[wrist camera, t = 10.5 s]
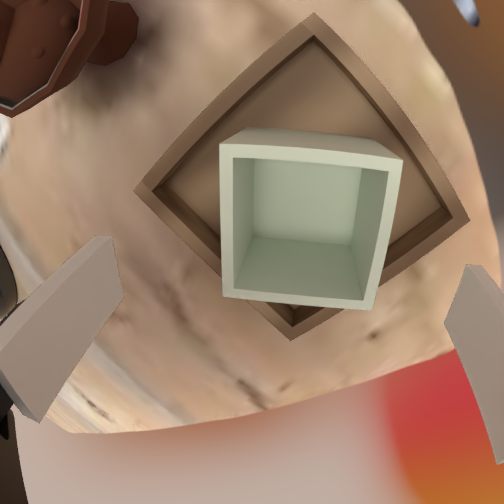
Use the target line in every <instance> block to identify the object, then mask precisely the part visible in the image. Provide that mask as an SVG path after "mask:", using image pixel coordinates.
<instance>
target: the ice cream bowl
mask: <svg viewBox="0 0 504 504" xmlns="http://www.w3.org/2000/svg"><path fill="white" fill-rule="evenodd" d="M138 19H139V18H138V16H137V15H136V13H135V12H134V10H133V9H132V7H131V6H130V4H128V3H122V2H115V1H109V0H0V113H1V114H4V115H6V116H8V117H11V118H13V117H15V116H16V115H18V114H20V113H22V112H24V111H26V110H28V109H30V108H31V107H33V106H35V105H36V104H38V103H39V102H41V101H42V100H44V99H45V98H47V97H49V96H50V95H52V94H54V93H55V92H57V91H59V90H60V89H62V88H64V87H66V86H67V85H68V84H70V83H71V82H72V81H73V80H74V79H76V78H77V76H78V74H79V73H80V71H81V69H82V68H83V66H84V64H85V63H86V61H88V62H92V63H95V64H99V65H103V66H105V65H107V64H110V63H112V62H114V61H116V60H118V59H120V58H123V56H124V55H125V54H126V52H127V51H128V49H129V48H130V47H131V45H132V44H133V42H134V41H135V40H136V35H137V27H138Z"/></svg>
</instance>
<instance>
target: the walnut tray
mask: <svg viewBox="0 0 504 504" xmlns="http://www.w3.org/2000/svg"><path fill="white" fill-rule="evenodd" d="M245 128H270V129H288V130H302V131H314V132H324V133H334V134H343V135H351V136H359V137H367V138H372V139H374V140H375V141H377V142H378V143H380V144H381V145H383V146H384V147H386V148H387V149H388V150H390V151H391V152H393V153H394V154H396V155H397V156H398V157H400V158H401V159H402V160H403V166H402V173H401V179H400V185H399V192H398V197H397V203H396V209H395V214H394V219H393V224H392V229H391V234H390V239H389V243H388V248H387V252H386V256H385V261H384V265H383V269H382V273H381V277H380V281H379V285H378V287H379V286H381V285H382V284H384V283H385V282H387V281H388V280H390V279H391V278H393V277H394V276H396V275H397V274H399V273H400V272H402V271H403V270H404V269H406V268H407V267H409V266H410V265H412V264H413V263H414V262H416V261H417V260H419V259H420V258H421V257H423V256H424V255H425V254H427V253H428V252H430V251H431V250H432V249H434V248H435V247H436V246H438V245H439V244H440V243H442V242H443V241H444V240H446V239H447V238H448V237H450V236H451V235H452V234H454V233H455V232H456V231H458V230H459V229H460V228H461V227H463V226H464V225H465V224H466V223H468V222H469V221H470V219H469V217H468V215H467V213H466V211H465V209H464V207H463V205H462V204H461V202H460V200H459V198H458V196H457V194H456V193H455V191H454V189H453V187H452V185H451V184H450V182H449V180H448V178H447V177H446V175H445V173H444V172H443V170H442V168H441V167H440V165H439V163H438V162H437V160H436V159H435V157H434V155H433V154H432V152H431V151H430V149H429V148H428V146H427V145H426V143H425V142H424V140H423V139H422V137H421V136H420V134H419V133H418V131H417V130H416V128H415V127H414V126H413V124H412V123H411V121H410V120H409V119H408V117H407V116H406V115H405V113H404V112H403V111H402V109H401V108H400V107H399V105H398V104H397V103H396V101H395V100H394V99H393V97H392V96H391V95H390V94H389V92H388V91H387V90H386V89H385V87H384V86H383V85H382V84H381V82H380V81H379V80H378V79H377V78H376V77H375V75H374V74H373V73H372V72H371V71H370V69H369V68H368V67H367V66H366V65H365V64H364V63H363V62H362V60H361V59H360V58H359V57H358V56H357V55H356V54H355V53H354V52H353V51H352V50H351V48H350V47H349V46H348V45H347V44H346V43H345V42H344V41H343V40H342V39H341V38H340V37H339V36H338V35H337V34H336V33H335V32H334V31H333V30H332V29H331V28H330V27H329V26H328V25H327V24H326V23H325V22H324V21H323V20H322V19H321V18H319V17H318V16H317V15H316V14H315V13H313V14H311V15H310V16H309V17H307V18H306V19H305V20H304V21H302V22H301V23H300V24H298V25H297V26H296V27H295V28H293V29H292V30H291V31H290V32H289V33H287V34H286V35H285V36H284V37H282V38H281V39H280V40H279V41H278V42H276V43H275V44H274V45H273V46H272V47H271V48H269V49H268V50H267V51H266V52H265V53H264V54H263V55H261V56H260V57H259V58H258V59H257V60H256V61H255V62H254V63H252V64H251V65H250V66H249V67H248V68H247V69H246V70H245V71H244V72H243V73H242V74H240V75H239V76H238V77H237V78H236V79H235V80H234V81H233V82H232V83H231V84H230V85H229V86H228V87H227V88H226V89H225V90H224V91H223V92H222V93H221V94H220V95H219V96H218V97H217V98H216V99H215V100H214V101H213V102H212V103H211V104H210V105H209V106H208V107H207V108H206V109H205V110H204V111H203V112H202V113H201V114H200V115H199V116H198V117H197V118H196V119H195V120H194V121H193V122H192V123H191V124H190V126H189V127H188V128H187V129H186V130H185V131H184V132H183V133H182V134H181V135H180V136H179V137H178V139H177V140H176V141H175V142H174V143H173V144H172V145H171V146H170V148H169V149H168V150H167V151H166V152H165V153H164V154H163V156H162V157H161V158H160V159H159V160H158V161H157V163H156V164H155V165H154V166H153V167H152V168H151V170H150V171H149V172H148V173H147V174H146V176H145V177H144V178H143V179H142V181H141V182H140V183H139V184H138V186H137V187H136V188H135V189H134V192H135V193H136V194H137V195H138V196H139V198H140V199H141V200H142V201H143V202H144V203H145V204H146V205H147V206H148V207H149V208H150V209H151V210H152V211H153V212H154V213H155V214H156V215H157V216H158V217H159V218H160V219H162V220H163V221H164V222H165V223H166V224H167V225H168V226H169V227H170V228H171V229H172V230H173V231H174V232H175V233H176V234H177V235H178V236H179V237H180V238H181V239H182V240H183V241H184V242H185V243H186V244H187V245H188V246H189V247H190V248H191V249H192V250H193V251H194V252H195V253H196V254H197V255H198V256H199V257H200V258H202V259H203V260H204V261H205V262H206V263H207V264H208V265H209V266H210V267H211V268H212V269H213V270H214V271H215V272H216V273H217V274H218V275H219V276H220V277H222V262H221V226H220V168H219V144H220V143H221V142H223V141H225V140H226V139H228V138H230V137H232V136H233V135H235V134H237V133H238V132H240V131H242V130H244V129H245ZM245 300H246V301H247V302H248V303H249V304H250V305H252V306H253V307H254V308H255V309H256V310H257V311H258V312H259V313H260V314H261V315H262V316H264V317H265V318H266V319H267V320H268V321H269V322H270V323H271V324H272V325H273V326H275V327H276V328H277V329H278V330H279V331H280V332H281V333H282V334H283V335H284V336H286V337H287V338H288V339H289V340H290V341H291V340H293V339H295V338H297V337H298V336H300V335H302V334H304V333H305V332H307V331H309V330H310V329H312V328H314V327H315V326H317V325H319V324H321V323H322V322H324V321H326V320H327V319H329V318H331V317H332V316H334V315H335V314H337V313H339V312H340V311H342V310H344V309H343V308H330V307H319V306H307V305H297V304H286V303H276V302H266V301H257V300H248V299H245Z"/></svg>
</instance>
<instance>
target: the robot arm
mask: <svg viewBox="0 0 504 504" xmlns="http://www.w3.org/2000/svg"><path fill="white" fill-rule="evenodd" d="M123 298H124V293H123V289H122V284H121V280H120V275H119V271H118V266H117V261H116V256H115V251H114V246H113V241H112V236H99V235H95V236H94V237H93V238H92V239H91V240H89V241H88V242H87V243H86V244H85V245H84V246H83V247H81V248H80V249H79V250H78V251H77V252H76V253H75V254H73V255H72V256H71V257H70V258H69V259H68V260H67V261H66V262H65V263H63V264H62V265H61V266H60V267H59V268H58V269H57V270H56V271H55V272H54V273H53V274H52V275H51V276H49V277H48V278H47V279H46V280H45V281H44V282H43V283H42V284H41V285H40V286H39V287H38V288H37V289H36V290H35V291H34V292H33V293H32V294H31V295H30V296H29V297H28V298H27V299H25V300H24V301H22V302H20V303H19V304H17V305H16V301H17V292H16V286H15V282H14V278H13V275H12V272H11V269H10V267H9V264H8V262H7V260H6V258H5V256H4V254H3V252H2V250H1V248H0V319H2V318H4V319H3V320H2V321H1V322H0V504H28V500H27V496H26V491H25V487H24V482H23V477H22V472H21V466H20V460H19V454H18V448H17V439H16V431H15V420H14V415H13V412H12V410H11V409H10V408H11V406H12V405H13V403H14V404H15V405H16V407H17V408H18V409H19V410H20V412H21V413H22V414H23V415H24V416H26V417H28V418H30V419H32V420H34V421H36V422H38V423H40V422H41V420H42V419H43V417H44V415H45V414H46V412H47V410H48V409H49V407H50V406H51V404H52V402H53V401H54V399H55V398H56V396H57V394H58V393H59V391H60V390H61V388H62V387H63V385H64V383H65V382H66V380H67V379H68V377H69V376H70V374H71V373H72V371H73V370H74V368H75V367H76V365H77V364H78V362H79V361H80V359H81V358H82V356H83V355H84V353H85V352H86V350H87V349H88V347H89V346H90V344H91V343H92V341H93V340H94V339H95V337H96V336H97V334H98V333H99V331H100V330H101V329H102V327H103V326H104V324H105V323H106V322H107V320H108V319H109V317H110V316H111V315H112V313H113V312H114V310H115V309H116V308H117V306H118V305H119V304H120V302H121V301H122V300H123ZM15 305H16V306H15ZM6 315H8V316H7V317H6ZM444 325H445V327H446V329H447V331H448V333H449V335H450V337H451V340H452V342H453V344H454V346H455V349H456V351H457V353H458V355H459V358H460V360H461V362H462V365H463V367H464V369H465V372H466V374H467V377H468V379H469V382H470V384H471V387H472V390H473V392H474V395H475V397H476V400H477V403H478V406H479V409H480V412H481V414H482V417H483V420H484V423H485V426H486V430H487V432H488V436H489V439H490V442H491V446H492V449H493V453H494V456H495V460H496V463H497V464H500V463H504V293H503V292H502V291H501V289H500V288H499V287H498V285H497V284H496V283H495V282H494V280H493V279H492V278H491V276H490V275H489V274H488V273H487V271H486V270H485V269H484V268H483V267H482V265H471V264H466V267H465V270H464V273H463V276H462V278H461V281H460V284H459V287H458V289H457V292H456V294H455V297H454V300H453V302H452V304H451V307H450V309H449V312H448V314H447V317H446V319H445V321H444Z"/></svg>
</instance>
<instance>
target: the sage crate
mask: <svg viewBox="0 0 504 504" xmlns="http://www.w3.org/2000/svg"><path fill="white" fill-rule="evenodd" d="M402 166H403V160H402V159H401V158H400V157H398V156H397V155H396V154H394V153H393V152H391V151H390V150H388V149H387V148H386V147H384V146H383V145H381V144H380V143H378V142H377V141H375V140H374V139H372V138H367V137H359V136H351V135H343V134H334V133H324V132H314V131H302V130H288V129H270V128H245V129H244V130H242V131H240V132H238V133H237V134H235V135H233V136H232V137H230V138H228V139H226V140H225V141H223V142H221V143H220V144H219V168H220V226H221V262H222V290H223V297H230V298H239V299H248V300H257V301H266V302H276V303H286V304H297V305H307V306H319V307H330V308H343V309H356V310H372V307H373V303H374V300H375V296H376V292H377V289H378V285H379V281H380V277H381V273H382V269H383V265H384V261H385V256H386V252H387V248H388V243H389V239H390V234H391V229H392V224H393V219H394V214H395V209H396V203H397V197H398V192H399V185H400V179H401V173H402Z"/></svg>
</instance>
